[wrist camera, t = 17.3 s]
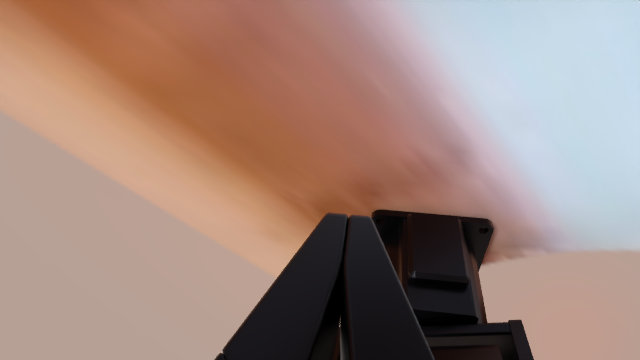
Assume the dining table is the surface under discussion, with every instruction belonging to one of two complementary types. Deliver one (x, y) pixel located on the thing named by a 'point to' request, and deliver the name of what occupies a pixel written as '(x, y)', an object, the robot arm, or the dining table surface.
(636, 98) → the dining table surface
